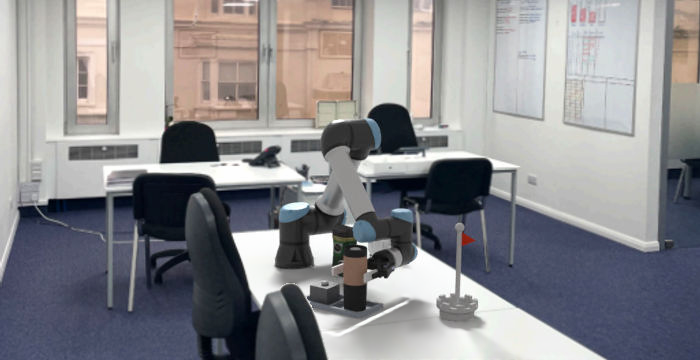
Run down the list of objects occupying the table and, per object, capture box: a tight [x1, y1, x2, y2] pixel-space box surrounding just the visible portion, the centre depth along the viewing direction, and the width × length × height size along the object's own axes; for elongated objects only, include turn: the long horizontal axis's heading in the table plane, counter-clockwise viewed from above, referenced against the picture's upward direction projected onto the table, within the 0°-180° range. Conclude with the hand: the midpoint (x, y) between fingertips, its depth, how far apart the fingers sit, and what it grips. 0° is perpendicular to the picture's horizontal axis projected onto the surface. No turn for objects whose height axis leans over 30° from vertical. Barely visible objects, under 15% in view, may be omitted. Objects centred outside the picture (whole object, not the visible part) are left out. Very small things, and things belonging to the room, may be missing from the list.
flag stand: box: [436, 222, 479, 322], centre depth 255 cm, size 13×13×30 cm
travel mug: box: [342, 244, 368, 312], centre depth 258 cm, size 8×8×20 cm
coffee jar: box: [331, 224, 358, 278], centre depth 300 cm, size 10×8×19 cm
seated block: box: [309, 279, 341, 305], centre depth 265 cm, size 7×7×7 cm
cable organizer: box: [367, 239, 391, 256], centre depth 326 cm, size 15×11×12 cm
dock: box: [305, 293, 384, 320], centre depth 263 cm, size 25×13×2 cm, turn 55°
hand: (348, 274), depth 254 cm, fingers open, 11 cm apart
